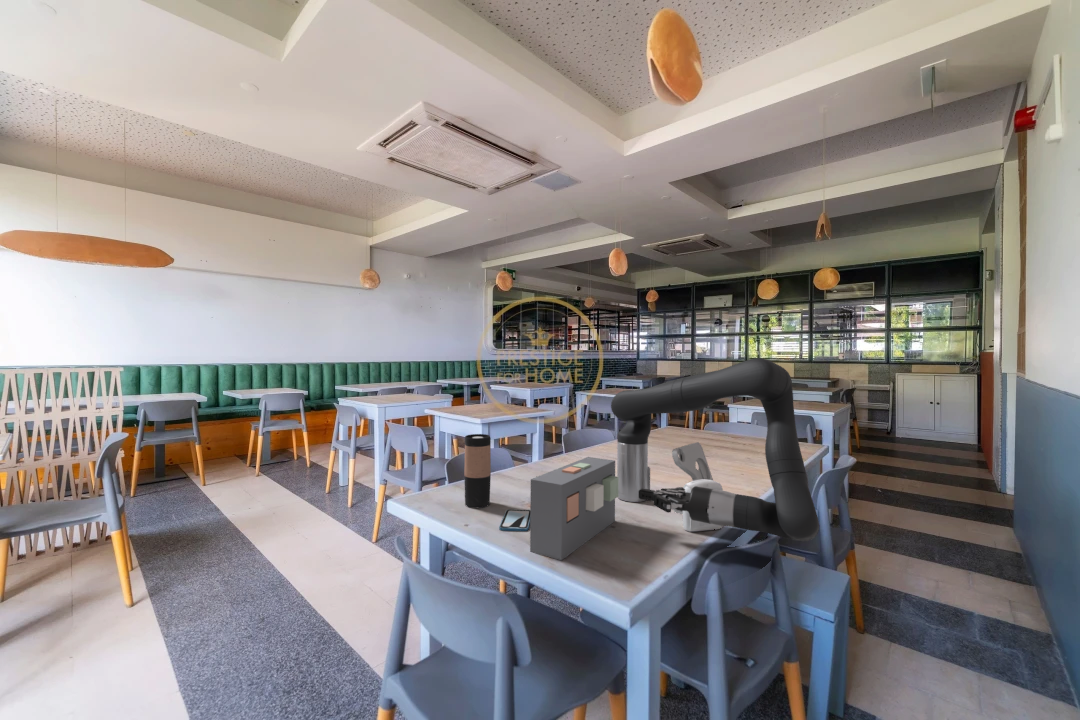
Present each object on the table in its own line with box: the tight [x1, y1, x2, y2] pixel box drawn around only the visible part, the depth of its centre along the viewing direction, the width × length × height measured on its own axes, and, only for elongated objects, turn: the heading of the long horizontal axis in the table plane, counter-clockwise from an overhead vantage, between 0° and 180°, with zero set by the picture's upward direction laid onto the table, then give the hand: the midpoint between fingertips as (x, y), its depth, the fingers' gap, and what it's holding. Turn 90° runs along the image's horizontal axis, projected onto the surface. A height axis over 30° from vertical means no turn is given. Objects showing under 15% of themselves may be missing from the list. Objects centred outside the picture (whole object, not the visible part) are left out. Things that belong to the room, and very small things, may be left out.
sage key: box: [602, 475, 619, 501], centre depth 114 cm, size 4×5×5 cm
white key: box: [586, 483, 604, 511], centre depth 107 cm, size 4×5×5 cm
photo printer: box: [682, 479, 724, 533], centre depth 114 cm, size 10×4×12 cm, turn 106°
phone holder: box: [671, 441, 714, 515], centre depth 129 cm, size 17×10×18 cm, turn 136°
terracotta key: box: [567, 492, 579, 522], centre depth 100 cm, size 4×5×5 cm
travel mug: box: [463, 433, 492, 508], centre depth 131 cm, size 8×8×20 cm
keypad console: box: [529, 456, 616, 561], centre depth 109 cm, size 8×28×16 cm, turn 147°
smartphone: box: [498, 508, 530, 532], centre depth 119 cm, size 7×1×15 cm
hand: (639, 493), depth 110 cm, fingers closed
